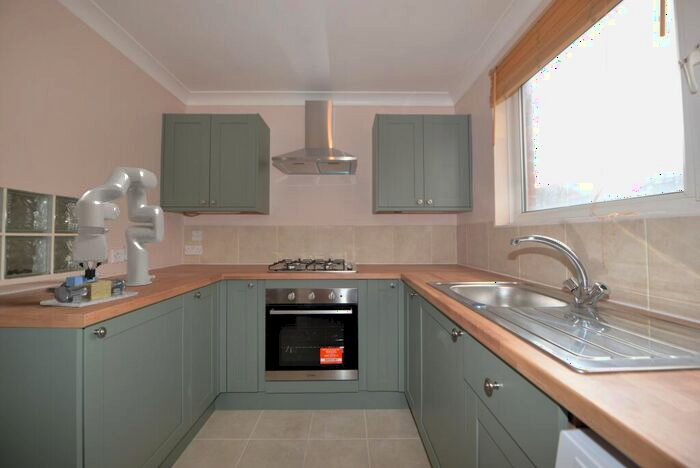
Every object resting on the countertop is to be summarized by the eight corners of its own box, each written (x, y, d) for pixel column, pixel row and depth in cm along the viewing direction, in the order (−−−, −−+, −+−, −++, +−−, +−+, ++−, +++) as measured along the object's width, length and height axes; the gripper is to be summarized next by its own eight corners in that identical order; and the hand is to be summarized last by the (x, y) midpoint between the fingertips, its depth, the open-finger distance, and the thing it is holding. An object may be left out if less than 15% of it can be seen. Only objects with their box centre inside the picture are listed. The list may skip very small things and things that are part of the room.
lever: (91, 280, 124) (91, 271, 124) (101, 280, 124) (101, 271, 124) (64, 286, 109) (64, 276, 109) (76, 285, 110) (76, 276, 110)
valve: (110, 295, 140) (72, 297, 126) (72, 295, 148) (33, 296, 134) (112, 282, 141) (74, 281, 127) (74, 282, 149) (35, 281, 135)
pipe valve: (103, 293, 135) (104, 276, 136) (137, 294, 132) (138, 277, 132) (40, 304, 112) (40, 284, 112) (79, 307, 109) (80, 286, 109)
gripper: (116, 232, 123) (115, 277, 123) (66, 231, 115) (65, 280, 114) (115, 232, 117) (114, 279, 117) (63, 231, 109) (61, 282, 108)
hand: (90, 279), depth 116 cm, fingers closed
